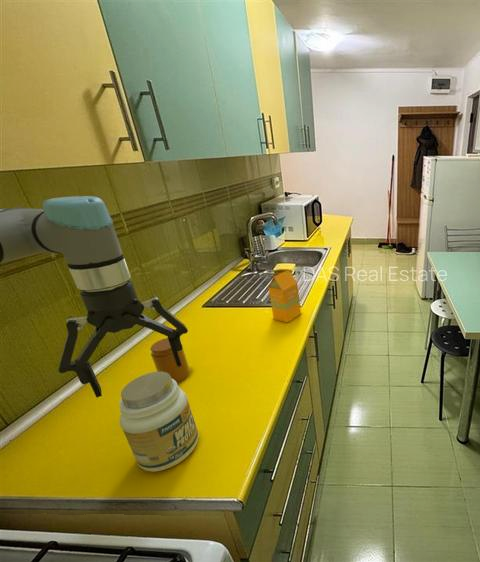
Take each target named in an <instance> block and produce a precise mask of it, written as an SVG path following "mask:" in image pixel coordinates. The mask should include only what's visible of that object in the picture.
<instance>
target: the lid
mask: <svg viewBox="0 0 480 562" xmlns="http://www.w3.org/2000/svg"><path fill="white" fill-rule="evenodd" d="M173 386H174V385H173V382H172V380H171V377H170V375H169V374H168V373H166V372H157V371H152V372H148V373H145V374H143V375H140V376H138V377H136V378H135V379H132V380H131V381H129V382H128V383H127V384H126V385H125V386H124V387H123V388H122V390H121V391H120V397H121V399H122V401H123V403H124V405H125V406H126V407H128V408H131V409H139V408H144V407H148V406H151V405H153V404H155V403H157V402H159V401H161V400H162V399H164V398H165V397H166V396H167V395H168V394H169V393H170V392H171V391H172V389H173Z"/></svg>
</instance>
